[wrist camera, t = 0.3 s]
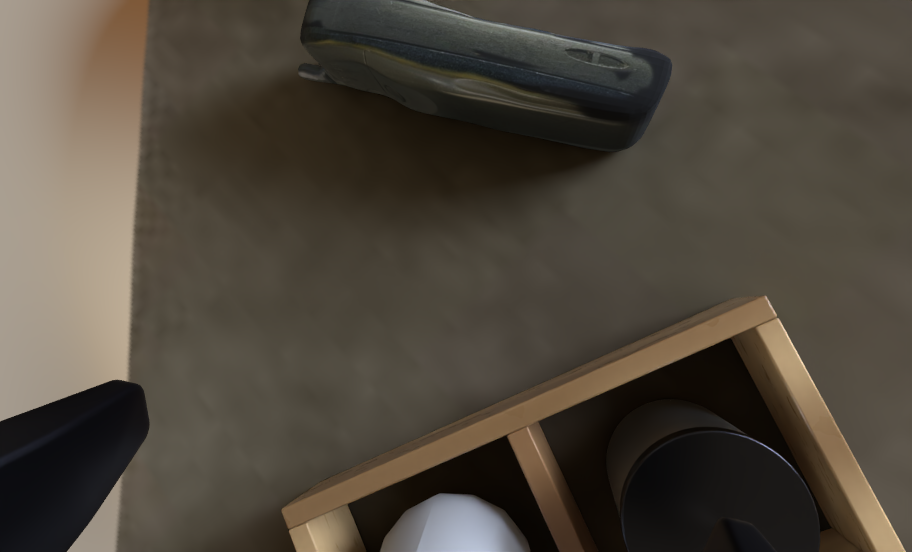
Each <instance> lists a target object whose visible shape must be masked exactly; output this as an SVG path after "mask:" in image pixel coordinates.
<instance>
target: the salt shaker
mask: <svg viewBox="0 0 912 552" xmlns="http://www.w3.org/2000/svg"><path fill="white" fill-rule="evenodd" d="M380 552H531V551H530V548H529V544H528V540H527V539H526V537H525V536H524V535H523V533H522V532H521V531H520V529H519V528H518V527H517V526H516V524H515V523H514V522H513V520H512V519H511V518H510V516H509V515H508V514H507V513H506V511H505V510H503V509H501V508H499V507H497V506H495V505H493V504H491V503H489V502H487V501H485V500H483V499H481V498H479V497H477V496H475V495H469V494H450V493H439V494H437V495H435V496H433V497H431V498H429V499H427V500H425V501H423V502H421V503H419V504H417V505H416V506H414V507H412V508H410V509H408V510H406V511H405V512H404V513H403V515H402V516H401V517H400V519H399V520H398V521H397V522H396V524H395V525H394V526H393V527H392V529H391V530H390V531H389V533H388V534H387V535H386V536H385V538H384V541H383V544H382V547H381V550H380Z"/></svg>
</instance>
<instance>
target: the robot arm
mask: <svg viewBox="0 0 912 552" xmlns="http://www.w3.org/2000/svg"><path fill="white" fill-rule="evenodd" d="M148 430H149V417H148V411H147V405H146V400H145V394H144V390H143V388H142V387H141V386H140V385H138V384H135V383H131V382H127V381H122V380H112V381H109V382H107V383H104V384H101V385H99V386H96V387H93V388H90V389H87V390H85V391H82V392H79V393H76V394H74V395H71V396H68V397H66V398H63V399H60V400H57V401H55V402H52V403H49V404H46V405H44V406H41V407H39V408H36V409H33V410H30V411H27V412H25V413H22V414H19V415H16V416H14V417H11V418H8V419H6V420H3V421H1V422H0V552H67V551H68V549H69V548H70V547H71V546H72V544H73V543H74V542H75V541H76V539H77V538H78V537H79V535H80V534H81V533H82V532H83V530H84V529H85V528H86V526H87V525H88V524H89V522H90V521H91V519H92V518H93V516H94V515H95V514H96V512H97V511H98V509H99V508H100V506H101V505H102V503H103V502H104V500H105V499H106V497H107V496H108V494H109V493H110V491H111V490H112V488H113V487H114V485H115V484H116V482H117V481H118V479H119V478H120V476H121V475H122V473H123V472H124V470H125V469H126V467H127V466H128V464H129V463H130V461H131V460H132V458H133V457H134V455H135V454H136V452H137V451H138V449H139V447H140V446H141V444H142V443H143V441H144V440H145V438H146V436H147V434H148ZM703 552H777V551H776V550H775V549H774V548H773V547H772V546H771V544H770V543H769V542H768V541H767V540H766V539H765V537H764V536H763V535H762V534H761V533H760V532H759V531H758V529H757V528H756V527H755V526H754V525H752V524H751V523H749V522H746V521H741V520H737V519H732V518H728V517H721V518H720V519H718V520H717V522H716V524H715V526H714V528H713V530H712V532H711V535H710V537H709V539H708V541H707V543H706V545H705V548H704V550H703Z"/></svg>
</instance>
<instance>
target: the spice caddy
mask: <svg viewBox="0 0 912 552" xmlns="http://www.w3.org/2000/svg"><path fill="white" fill-rule="evenodd" d="M776 317H777V315H776V313H775V311H774V309H773V307H772V305H771V304H770V302H769V300H768V298H767V297H766V296H754V297H743V298H732V299H730V300H728V301H725V302H723V303H721V304H719V305H716V306H714V307H712V308H710V309H707V310H705V311H703V312H701V313H698V314H696V315H694V316H692V317H689V318H687V319H685V320H683V321H680V322H678V323H676V324H674V325H671V326H669V327H667V328H665V329H662V330H660V331H658V332H656V333H653V334H651V335H649V336H647V337H644V338H642V339H640V340H638V341H635V342H633V343H631V344H629V345H626V346H624V347H622V348H620V349H617V350H615V351H613V352H611V353H608V354H606V355H604V356H602V357H599V358H597V359H595V360H593V361H590V362H588V363H586V364H584V365H581V366H579V367H577V368H575V369H572V370H570V371H568V372H566V373H563V374H561V375H559V376H557V377H555V378H552V379H550V380H548V381H546V382H543V383H541V384H539V385H537V386H534V387H532V388H530V389H528V390H525V391H523V392H521V393H519V394H516V395H514V396H512V397H510V398H507V399H505V400H503V401H501V402H498V403H496V404H494V405H492V406H489V407H487V408H485V409H483V410H480V411H478V412H476V413H474V414H471V415H469V416H467V417H465V418H462V419H460V420H458V421H456V422H453V423H451V424H449V425H447V426H444V427H442V428H440V429H438V430H435V431H433V432H431V433H429V434H426V435H424V436H422V437H420V438H417V439H415V440H413V441H411V442H408V443H406V444H404V445H402V446H399V447H397V448H395V449H393V450H390V451H388V452H386V453H384V454H381V455H379V456H377V457H375V458H372V459H370V460H368V461H366V462H363V463H361V464H359V465H357V466H355V467H352V468H350V469H348V470H346V471H343V472H341V473H339V474H337V475H334V476H332V477H330V478H328V479H325V480H323V481H321V482H319V483H318V484H317V485H315V486H314V487H312V488H311V489H309V490H308V491H306V492H305V493H304V494H302V495H301V496H299V497H298V498H296V499H295V500H293V501H292V502H291V503H289V504H288V505H286V506H285V507H283V508H282V509H281V512H282V515H283V517H284V520H285V522H286V525H287V527H288V529H290V530H289V534H290V536H291V539H292V541H293V544H294V546H295V549H296V552H367V551H366V549H365V546H364V544H363V541H362V539H361V536H360V534H359V531H358V529H357V526H356V524H355V521H354V519H353V517H352V514H351V512H350V509H349V507H348V504H349V503H352V502H354V501H356V500H358V499H361V498H363V497H365V496H368V495H370V494H372V493H375V492H377V491H379V490H381V489H384V488H386V487H388V486H391V485H393V484H395V483H398V482H400V481H402V480H404V479H407V478H409V477H411V476H414V475H416V474H418V473H421V472H423V471H425V470H427V469H430V468H432V467H434V466H437V465H439V464H441V463H444V462H446V461H448V460H450V459H453V458H455V457H457V456H460V455H462V454H464V453H467V452H469V451H471V450H473V449H476V448H478V447H480V446H483V445H485V444H487V443H489V442H492V441H494V440H496V439H499V438H501V437H503V436H506V435H507V438H508V440H509V442H510V444H511V447H512V449H513V451H514V453H515V455H516V458H517V460H518V462H519V464H520V466H521V469H522V471H523V473H524V475H525V477H526V480H527V482H528V484H529V486H530V488H531V491H532V493H533V495H534V497H535V499H536V502H537V504H538V506H539V508H540V510H541V513H542V515H543V517H544V519H545V521H546V523H547V526H548V528H549V530H550V532H551V534H552V537H553V539H554V541H555V543H556V545H557V548H558V550H559V552H599V551H598V549H597V547H596V545H595V543H594V540H593V538H592V536H591V534H590V532H589V530H588V528H587V525H586V523H585V521H584V519H583V517H582V515H581V513H580V510H579V508H578V506H577V504H576V502H575V500H574V498H573V495H572V493H571V491H570V489H569V487H568V485H567V482H566V480H565V478H564V476H563V474H562V472H561V470H560V467H559V465H558V463H557V461H556V459H555V457H554V455H553V452H552V450H551V448H550V446H549V444H548V442H547V439H546V437H545V435H544V433H543V431H542V429H541V427H540V424H539V422H538V421H540V420H542V419H545V418H547V417H549V416H552V415H554V414H556V413H558V412H561V411H563V410H565V409H568V408H570V407H572V406H575V405H577V404H579V403H581V402H584V401H586V400H588V399H591V398H593V397H595V396H598V395H600V394H602V393H604V392H607V391H609V390H611V389H614V388H616V387H618V386H621V385H623V384H625V383H627V382H630V381H632V380H634V379H637V378H639V377H641V376H644V375H646V374H648V373H650V372H653V371H655V370H657V369H660V368H662V367H664V366H666V365H669V364H671V363H673V362H676V361H678V360H680V359H683V358H685V357H687V356H689V355H692V354H694V353H696V352H699V351H701V350H703V349H706V348H708V347H710V346H712V345H715V344H717V343H719V342H722V341H724V340H726V339H729V338H731V339H732V341H733V343H734V345H735V347H736V349H737V350H738V352H739V354H740V356H741V358H742V360H743V362H744V364H745V366H746V368H747V369H748V371H749V373H750V375H751V377H752V379H753V381H754V383H755V385H756V386H757V388H758V390H759V392H760V394H761V396H762V398H763V400H764V402H765V403H766V405H767V407H768V409H769V411H770V413H771V415H772V417H773V419H774V420H775V422H776V424H777V426H778V428H779V430H780V432H781V434H782V436H783V437H784V439H785V441H786V443H787V445H788V447H789V449H790V451H791V453H792V455H793V456H794V458H795V460H796V462H797V464H798V466H799V468H800V470H801V472H802V473H803V475H804V477H805V479H806V481H807V483H808V485H809V487H810V489H811V490H812V492H813V494H814V496H815V498H816V500H817V502H818V504H819V506H820V507H821V509H822V511H823V513H824V515H825V517H826V519H827V521H828V523H829V525H830V526H831V527H832V528H830V529H827V530H825V531H822V532H820V546H819V552H906V551H905V549H904V548H903V546H902V544H901V542H900V540H899V538H898V537H897V535H896V533H895V531H894V529H893V527H892V526H891V524H890V522H889V520H888V518H887V516H886V515H885V513H884V511H883V509H882V507H881V505H880V504H879V502H878V500H877V498H876V496H875V494H874V493H873V491H872V489H871V487H870V485H869V483H868V482H867V480H866V478H865V476H864V474H863V472H862V471H861V469H860V467H859V465H858V463H857V461H856V460H855V458H854V456H853V454H852V452H851V450H850V448H849V447H848V445H847V443H846V441H845V439H844V437H843V436H842V434H841V432H840V430H839V428H838V426H837V425H836V423H835V421H834V419H833V417H832V415H831V414H830V412H829V410H828V408H827V406H826V404H825V403H824V401H823V399H822V397H821V395H820V393H819V392H818V390H817V388H816V386H815V384H814V382H813V381H812V379H811V377H810V375H809V373H808V371H807V370H806V368H805V366H804V364H803V362H802V360H801V359H800V357H799V355H798V353H797V351H796V349H795V348H794V346H793V344H792V342H791V340H790V338H789V336H788V335H787V333H786V331H785V329H784V327H783V325H782V324H781V322H780V320H779V319H778V318H776Z"/></svg>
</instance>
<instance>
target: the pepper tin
mask: <svg viewBox="0 0 912 552" xmlns="http://www.w3.org/2000/svg"><path fill="white" fill-rule="evenodd" d="M606 467H607V474H608V478H609V482H610V486H611V489H612V493H613V496H614V500H615V503H616V507H617V510H618V514H619V518H620V524H621V530H622V534H623V538H624V542H625V545H626V548H627V551H628V552H703V550H704V548H705V545H706V543H707V541H708V539H709V537H710V535H711V532H712V530H713V528H714V526H715V524H716V522H717V520H718V519H720V518H721V517H728V518H732V519H737V520H741V521H746V522H749V523H751V524H752V525H754V526H755V527H756V528H757V529H758V531H759V532H760V533H761V534H762V535H763V536H764V537H765V539H766V540H767V541H768V542H769V543H770V544H771V546H772V547H773V548H774V549H775V550H776V551H777V552H819V546H820V524H819V518H818V513H817V509H816V506H815V503H814V500H813V498H812V495H811V493H810V491H809V489H808V487H807V486H806V484H805V482H804V481H803V479H802V477H801V476H800V475H799V474H798V472H797V471H796V470H795V469H794V467H793V466H792V465H791V464H790V463H789V462H788V461H787V460H786V459H785V458H784V457H782V456H781V455H780V454H778V453H777V452H776V451H774V450H773V449H772V448H770V447H769V446H767V445H765V444H764V443H762V442H760V441H759V440H757V439H755V438H753V437H751V436H748V435H747V434H745V433H744V432H742V431H741V430H739V429H738V428H736V427H735V426H733V425H731V424H730V423H728V422H727V421H725V420H724V419H722V418H721V417H719V416H718V415H716V414H715V413H713V412H711V411H710V410H708V409H706V408H705V407H702V406H700V405H698V404H695V403H692V402H689V401H684V400H677V399H665V400H657V401H653V402H649V403H647V404H644V405H642V406H640V407H638V408H636V409H635V410H633V411H632V412H630V413H629V414H628V415H627V416H626V417H624V418H623V419H622V421H621V422H620V423H619V424H618V426H617V427H616V429H615V430H614V432H613V434H612V436H611V439H610V441H609V445H608V449H607V456H606Z"/></svg>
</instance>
